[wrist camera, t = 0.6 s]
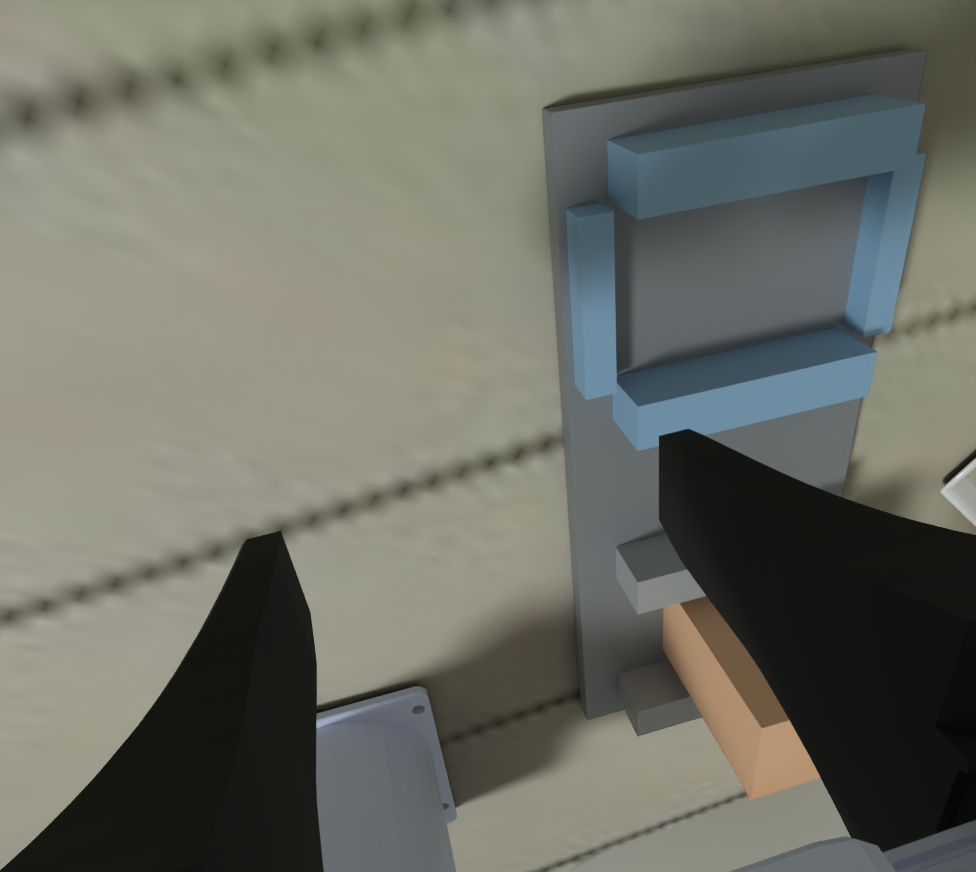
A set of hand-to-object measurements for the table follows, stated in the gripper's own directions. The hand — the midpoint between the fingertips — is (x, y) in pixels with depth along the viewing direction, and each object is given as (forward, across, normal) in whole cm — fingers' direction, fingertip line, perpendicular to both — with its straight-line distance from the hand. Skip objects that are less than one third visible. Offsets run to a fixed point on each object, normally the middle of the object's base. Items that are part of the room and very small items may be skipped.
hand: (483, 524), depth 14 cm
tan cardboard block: (+9, -10, +14) cm, 20 cm away
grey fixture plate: (+10, -10, +7) cm, 16 cm away
